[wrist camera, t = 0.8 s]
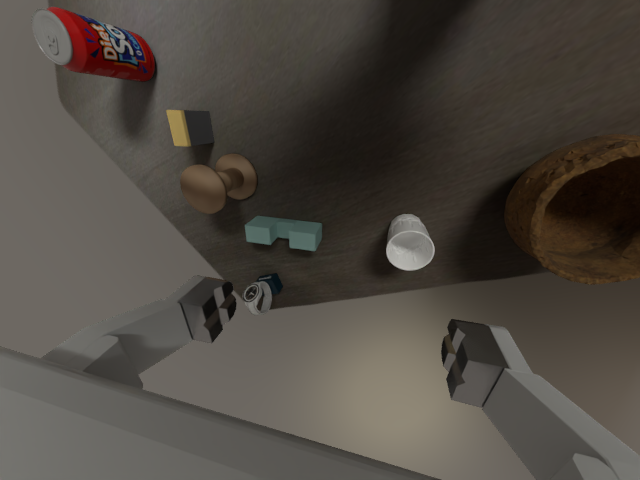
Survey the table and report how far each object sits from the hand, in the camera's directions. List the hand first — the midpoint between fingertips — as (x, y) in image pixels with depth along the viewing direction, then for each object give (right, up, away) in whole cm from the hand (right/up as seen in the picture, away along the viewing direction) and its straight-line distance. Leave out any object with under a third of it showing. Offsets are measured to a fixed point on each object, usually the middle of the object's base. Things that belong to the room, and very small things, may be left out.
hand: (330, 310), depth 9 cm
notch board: (-8, +6, +48) cm, 49 cm away
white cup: (+18, +5, +42) cm, 45 cm away
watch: (-14, -8, +57) cm, 59 cm away
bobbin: (-19, +17, +45) cm, 52 cm away
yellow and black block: (-25, +27, +42) cm, 56 cm away
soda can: (-36, +39, +39) cm, 66 cm away
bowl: (+39, +11, +32) cm, 52 cm away
